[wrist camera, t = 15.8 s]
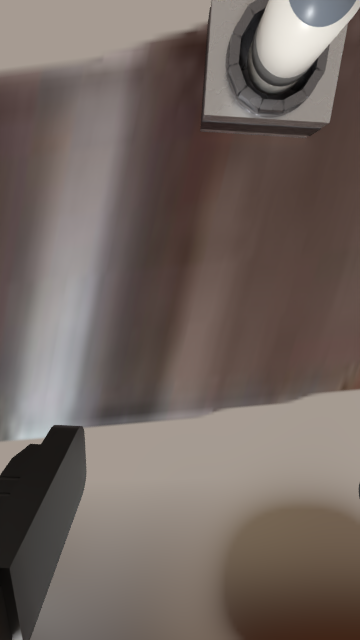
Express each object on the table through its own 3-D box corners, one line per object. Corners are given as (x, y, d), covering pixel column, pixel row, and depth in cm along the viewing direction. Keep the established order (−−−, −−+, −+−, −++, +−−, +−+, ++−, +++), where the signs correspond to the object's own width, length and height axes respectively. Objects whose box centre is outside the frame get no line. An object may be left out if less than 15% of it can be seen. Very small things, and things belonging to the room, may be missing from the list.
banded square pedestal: (322, 39, 32) (362, -11, 25) (305, 138, 35) (337, 118, 28) (206, 31, 32) (213, -21, 25) (199, 131, 35) (204, 110, 28)
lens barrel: (310, 25, 27) (382, -81, 17) (299, 97, 28) (359, 37, 19) (249, 22, 27) (288, -87, 17) (242, 94, 28) (273, 32, 19)
